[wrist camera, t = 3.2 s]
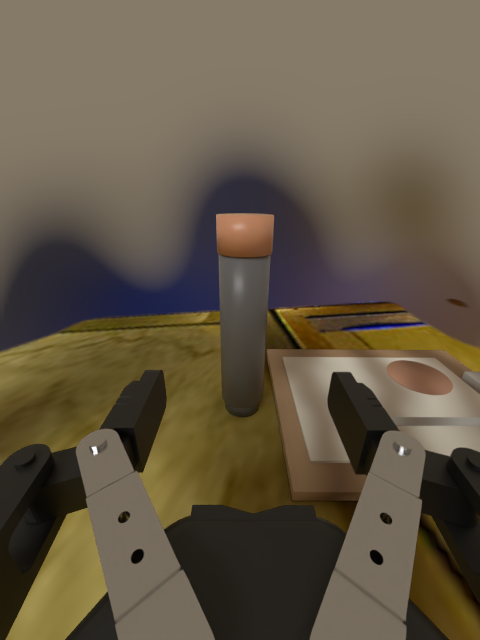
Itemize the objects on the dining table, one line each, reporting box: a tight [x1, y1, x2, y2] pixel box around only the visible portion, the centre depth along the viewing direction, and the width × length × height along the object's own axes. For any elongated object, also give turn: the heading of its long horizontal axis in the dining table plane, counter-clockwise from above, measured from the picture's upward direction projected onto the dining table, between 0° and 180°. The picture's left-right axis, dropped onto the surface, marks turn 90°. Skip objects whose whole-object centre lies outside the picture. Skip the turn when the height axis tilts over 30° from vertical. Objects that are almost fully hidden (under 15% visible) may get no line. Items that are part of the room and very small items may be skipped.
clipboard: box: [267, 349, 480, 501], centre depth 24 cm, size 21×17×2 cm
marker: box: [216, 213, 274, 417], centre depth 21 cm, size 4×4×16 cm
